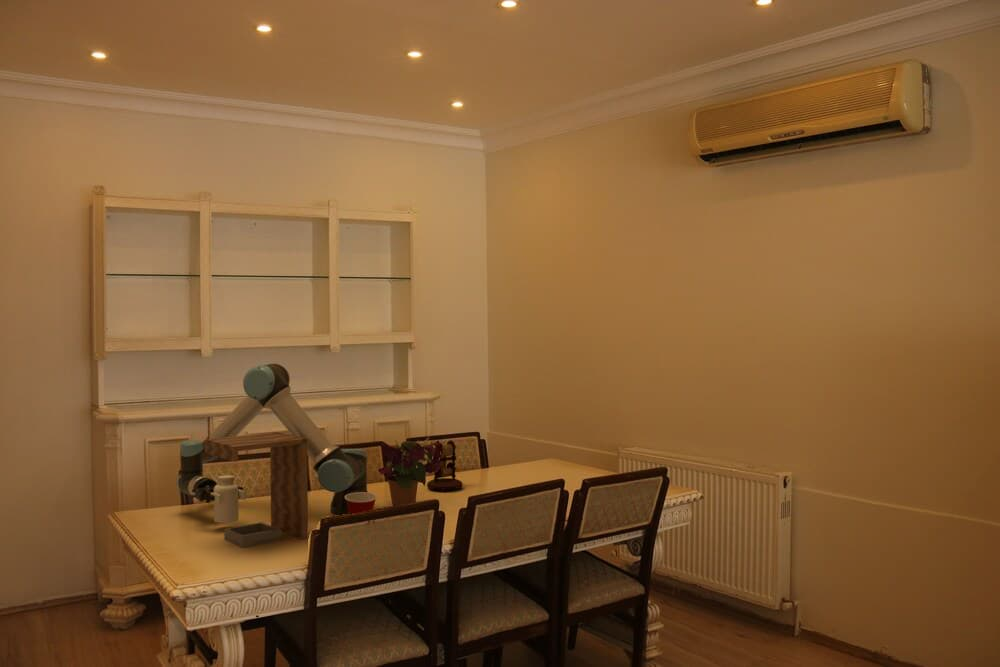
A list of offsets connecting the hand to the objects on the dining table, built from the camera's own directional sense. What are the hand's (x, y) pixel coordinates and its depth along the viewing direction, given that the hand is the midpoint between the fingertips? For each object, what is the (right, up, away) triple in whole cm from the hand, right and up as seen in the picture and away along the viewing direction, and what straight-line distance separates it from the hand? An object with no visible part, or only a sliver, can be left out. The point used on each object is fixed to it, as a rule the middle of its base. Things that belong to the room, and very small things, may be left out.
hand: (232, 497), depth 285 cm
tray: (+10, -12, -10) cm, 18 cm away
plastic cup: (+43, -12, +1) cm, 44 cm away
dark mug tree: (+67, -10, +70) cm, 97 cm away
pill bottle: (-3, -9, +4) cm, 10 cm away
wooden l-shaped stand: (+11, -12, -9) cm, 18 cm away
